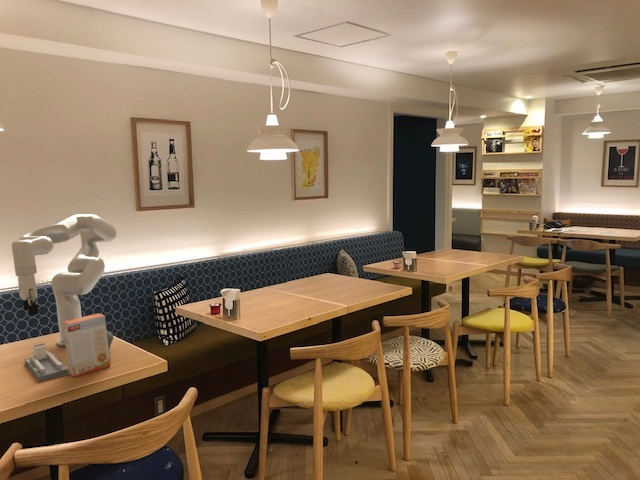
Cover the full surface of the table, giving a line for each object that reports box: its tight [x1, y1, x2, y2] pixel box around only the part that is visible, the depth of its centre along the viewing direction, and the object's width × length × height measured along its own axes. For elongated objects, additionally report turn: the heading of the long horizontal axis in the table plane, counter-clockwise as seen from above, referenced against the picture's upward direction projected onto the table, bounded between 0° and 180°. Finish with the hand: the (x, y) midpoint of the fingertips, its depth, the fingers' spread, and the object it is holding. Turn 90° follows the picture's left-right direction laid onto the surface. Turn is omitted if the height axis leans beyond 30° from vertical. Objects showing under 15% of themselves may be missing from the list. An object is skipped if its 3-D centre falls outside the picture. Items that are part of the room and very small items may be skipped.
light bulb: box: [106, 330, 114, 354], centre depth 219 cm, size 6×6×10 cm
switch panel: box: [24, 350, 69, 383], centre depth 206 cm, size 10×24×4 cm, turn 40°
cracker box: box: [63, 313, 111, 378], centre depth 202 cm, size 14×6×21 cm, turn 133°
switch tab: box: [32, 342, 47, 360], centre depth 211 cm, size 4×4×6 cm
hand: (31, 311), depth 214 cm, fingers open, 9 cm apart
